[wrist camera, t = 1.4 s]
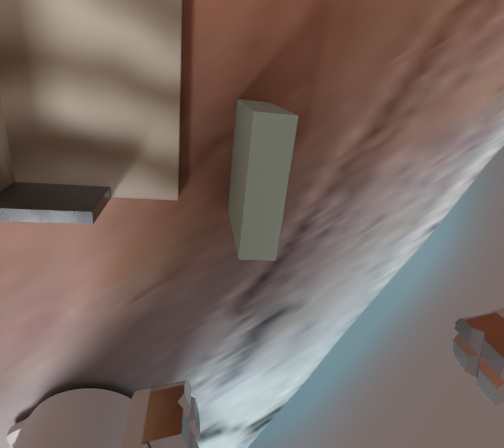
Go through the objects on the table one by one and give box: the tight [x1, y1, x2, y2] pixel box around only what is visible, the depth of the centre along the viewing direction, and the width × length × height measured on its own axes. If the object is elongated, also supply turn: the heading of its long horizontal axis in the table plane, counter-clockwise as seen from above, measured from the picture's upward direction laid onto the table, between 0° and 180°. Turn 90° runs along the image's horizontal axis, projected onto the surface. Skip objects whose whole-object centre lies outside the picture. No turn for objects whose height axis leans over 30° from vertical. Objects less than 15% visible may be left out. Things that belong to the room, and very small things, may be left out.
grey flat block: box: [228, 99, 298, 261], centre depth 29 cm, size 3×11×10 cm, turn 174°
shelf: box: [0, 0, 183, 224], centre depth 24 cm, size 20×15×10 cm
